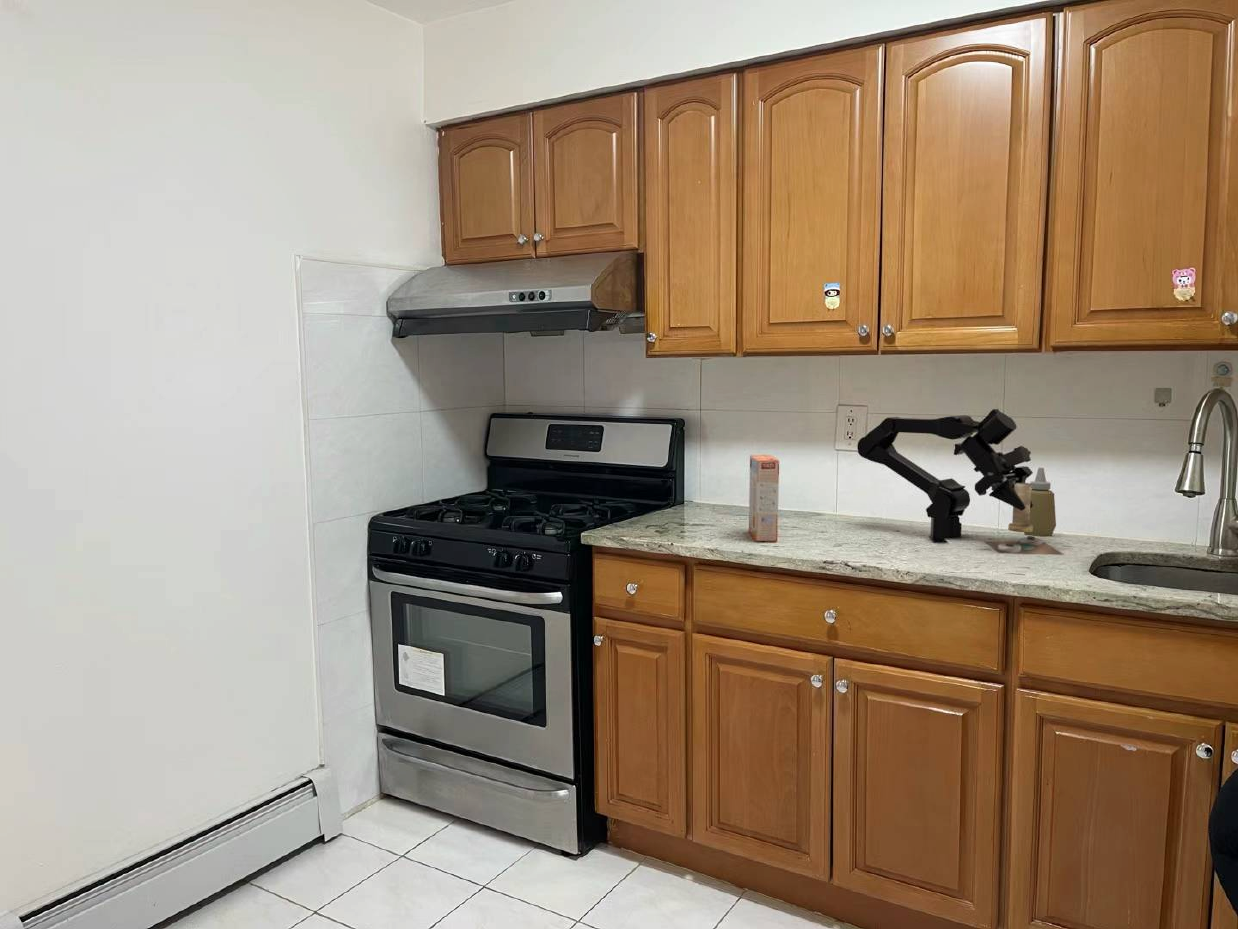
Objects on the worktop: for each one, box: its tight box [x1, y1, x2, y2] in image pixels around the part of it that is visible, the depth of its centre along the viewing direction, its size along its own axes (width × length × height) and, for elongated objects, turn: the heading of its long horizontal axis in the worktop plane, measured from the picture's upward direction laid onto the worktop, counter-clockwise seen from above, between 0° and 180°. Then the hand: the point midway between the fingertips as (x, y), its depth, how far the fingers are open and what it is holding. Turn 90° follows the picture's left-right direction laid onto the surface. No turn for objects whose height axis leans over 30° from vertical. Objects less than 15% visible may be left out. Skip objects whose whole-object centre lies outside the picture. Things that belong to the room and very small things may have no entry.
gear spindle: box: [1007, 482, 1033, 533], centre depth 208 cm, size 5×5×11 cm
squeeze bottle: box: [1023, 467, 1057, 537], centre depth 225 cm, size 8×8×18 cm
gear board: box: [983, 535, 1065, 556], centre depth 209 cm, size 14×14×3 cm
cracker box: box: [748, 454, 780, 543], centre depth 229 cm, size 14×6×21 cm, turn 179°
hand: (1027, 508), depth 207 cm, fingers closed on gear spindle, 4 cm apart
